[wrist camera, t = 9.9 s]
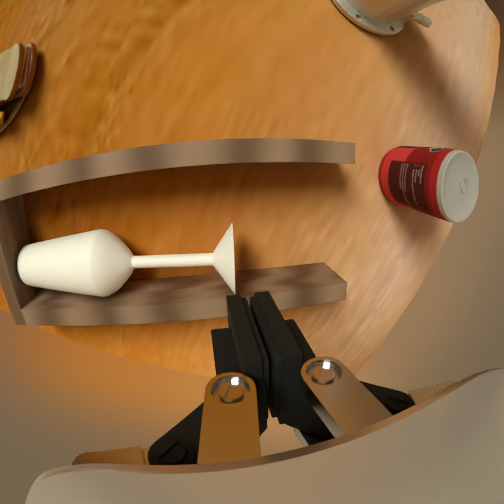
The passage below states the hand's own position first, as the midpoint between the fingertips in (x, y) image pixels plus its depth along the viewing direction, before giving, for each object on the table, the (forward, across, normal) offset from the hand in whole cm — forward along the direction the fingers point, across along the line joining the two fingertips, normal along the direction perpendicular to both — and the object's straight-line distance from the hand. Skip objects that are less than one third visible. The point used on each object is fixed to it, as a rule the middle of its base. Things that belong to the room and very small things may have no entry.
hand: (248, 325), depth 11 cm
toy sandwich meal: (+20, +27, -21) cm, 40 cm away
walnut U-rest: (+19, +6, 0) cm, 20 cm away
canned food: (+19, -24, -5) cm, 31 cm away
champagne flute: (+15, -1, +3) cm, 15 cm away
